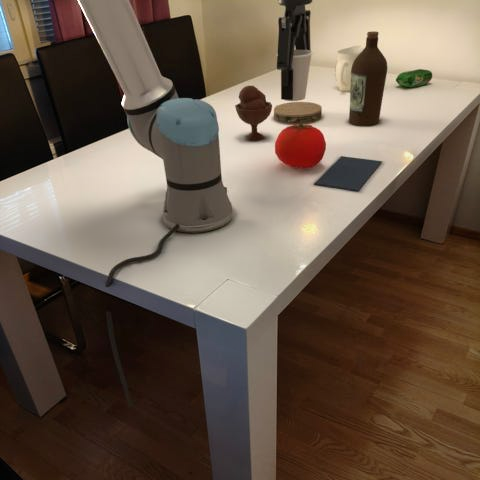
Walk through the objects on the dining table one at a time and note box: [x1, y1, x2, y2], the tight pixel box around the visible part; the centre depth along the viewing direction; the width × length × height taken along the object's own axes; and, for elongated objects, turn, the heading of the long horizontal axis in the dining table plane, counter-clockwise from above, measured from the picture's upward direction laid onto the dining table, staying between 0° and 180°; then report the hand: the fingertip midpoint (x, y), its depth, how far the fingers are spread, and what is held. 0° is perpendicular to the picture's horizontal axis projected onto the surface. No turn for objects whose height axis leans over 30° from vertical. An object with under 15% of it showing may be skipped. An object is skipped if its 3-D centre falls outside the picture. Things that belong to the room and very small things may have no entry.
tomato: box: [274, 124, 327, 170], centre depth 125 cm, size 13×12×11 cm
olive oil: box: [348, 30, 388, 127], centre depth 148 cm, size 11×11×25 cm
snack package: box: [395, 68, 433, 88], centre depth 188 cm, size 7×16×5 cm, turn 120°
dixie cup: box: [278, 48, 313, 102], centre depth 117 cm, size 8×8×10 cm
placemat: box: [313, 155, 383, 192], centre depth 123 cm, size 20×11×1 cm, turn 152°
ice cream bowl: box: [234, 85, 273, 142], centre depth 144 cm, size 11×11×15 cm
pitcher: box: [334, 45, 364, 93], centre depth 185 cm, size 11×18×14 cm, turn 151°
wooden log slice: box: [273, 101, 323, 126], centre depth 163 cm, size 16×16×3 cm
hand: (293, 94), depth 120 cm, fingers closed on dixie cup, 8 cm apart
